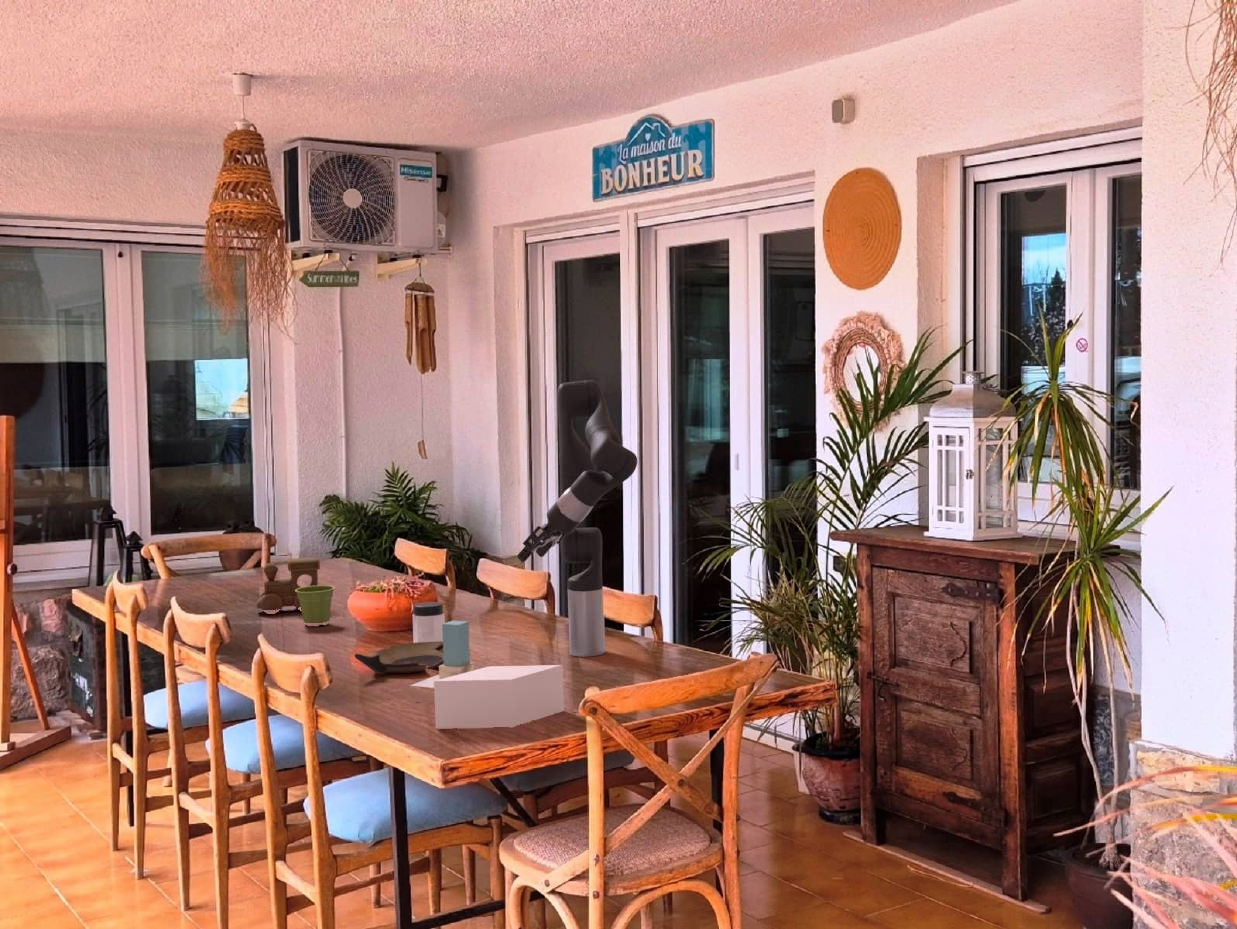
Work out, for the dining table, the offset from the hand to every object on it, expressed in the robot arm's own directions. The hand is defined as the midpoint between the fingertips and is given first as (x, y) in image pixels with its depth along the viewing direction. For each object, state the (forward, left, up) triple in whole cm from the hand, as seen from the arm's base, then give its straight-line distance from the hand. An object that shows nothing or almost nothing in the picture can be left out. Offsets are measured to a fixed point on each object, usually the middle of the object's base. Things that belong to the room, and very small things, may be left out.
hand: (529, 556), depth 310 cm
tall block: (+6, -18, -26) cm, 32 cm away
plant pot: (-46, -103, -31) cm, 117 cm away
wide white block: (+30, +9, -31) cm, 44 cm away
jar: (-29, -50, -31) cm, 65 cm away
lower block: (+6, -18, -30) cm, 35 cm away
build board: (+6, -18, -31) cm, 36 cm away
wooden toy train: (-63, -128, -31) cm, 146 cm away
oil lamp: (-2, -39, -31) cm, 50 cm away
